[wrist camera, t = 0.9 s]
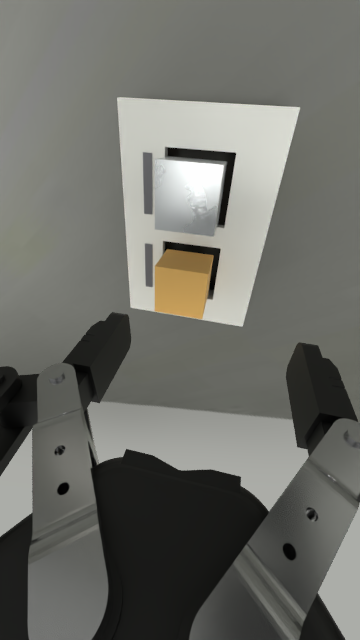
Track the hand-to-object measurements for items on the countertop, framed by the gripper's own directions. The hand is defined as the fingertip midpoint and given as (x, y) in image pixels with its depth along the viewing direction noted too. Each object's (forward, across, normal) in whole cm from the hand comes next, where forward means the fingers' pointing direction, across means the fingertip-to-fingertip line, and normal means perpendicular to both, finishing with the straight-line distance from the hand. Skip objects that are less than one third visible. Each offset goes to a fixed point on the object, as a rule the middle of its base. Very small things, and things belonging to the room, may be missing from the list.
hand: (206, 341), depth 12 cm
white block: (+15, +3, -4) cm, 16 cm away
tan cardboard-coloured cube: (+15, +3, +4) cm, 16 cm away
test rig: (+22, +3, 0) cm, 22 cm away
